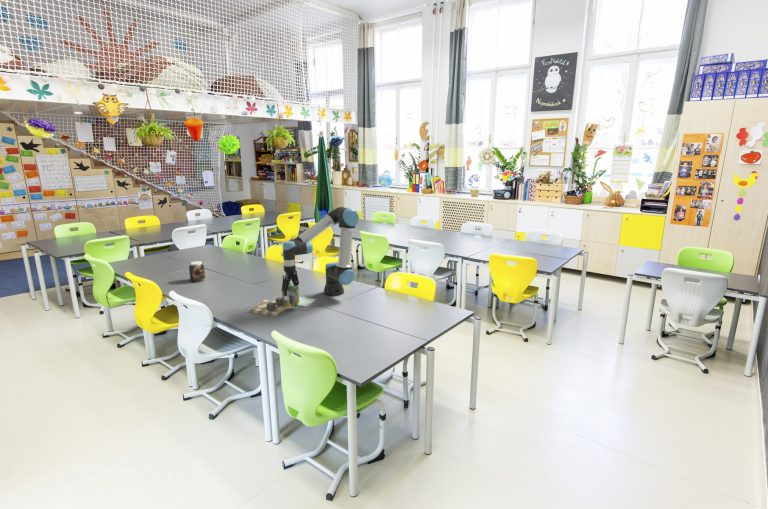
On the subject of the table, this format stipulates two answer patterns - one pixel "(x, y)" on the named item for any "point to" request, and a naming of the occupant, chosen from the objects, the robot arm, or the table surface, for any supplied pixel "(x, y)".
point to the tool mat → (305, 301)
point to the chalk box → (291, 296)
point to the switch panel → (262, 308)
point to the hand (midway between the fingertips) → (291, 297)
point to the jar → (197, 271)
